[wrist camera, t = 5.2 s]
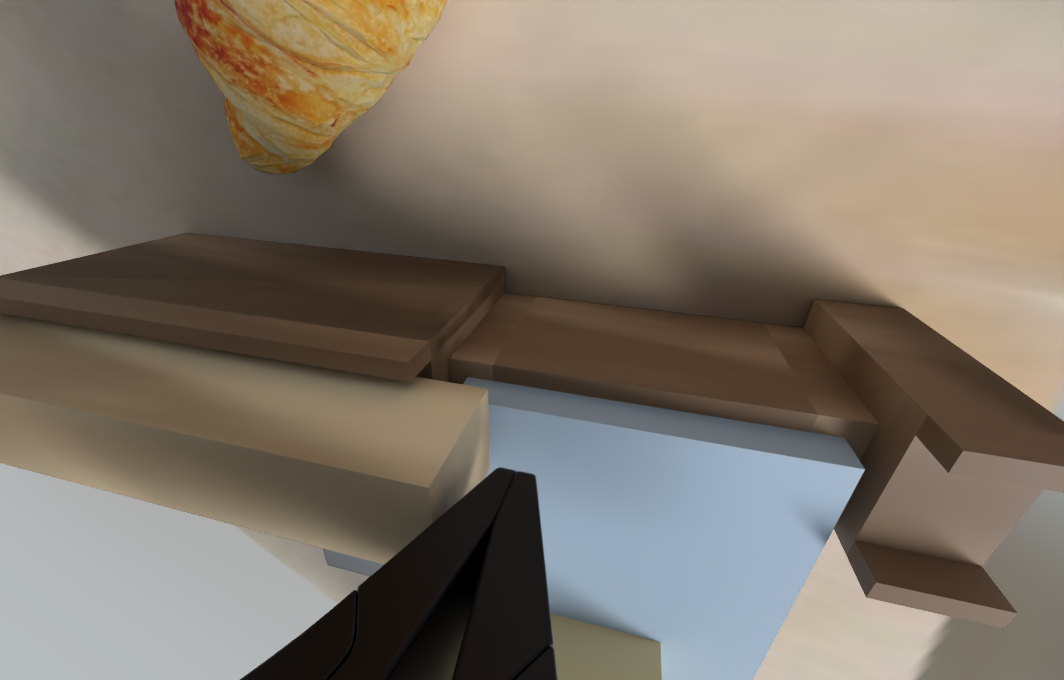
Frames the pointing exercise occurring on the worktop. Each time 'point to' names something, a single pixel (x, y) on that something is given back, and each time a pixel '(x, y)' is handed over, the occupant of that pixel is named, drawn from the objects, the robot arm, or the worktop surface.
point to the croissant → (302, 67)
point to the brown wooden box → (623, 377)
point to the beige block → (241, 435)
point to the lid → (668, 528)
